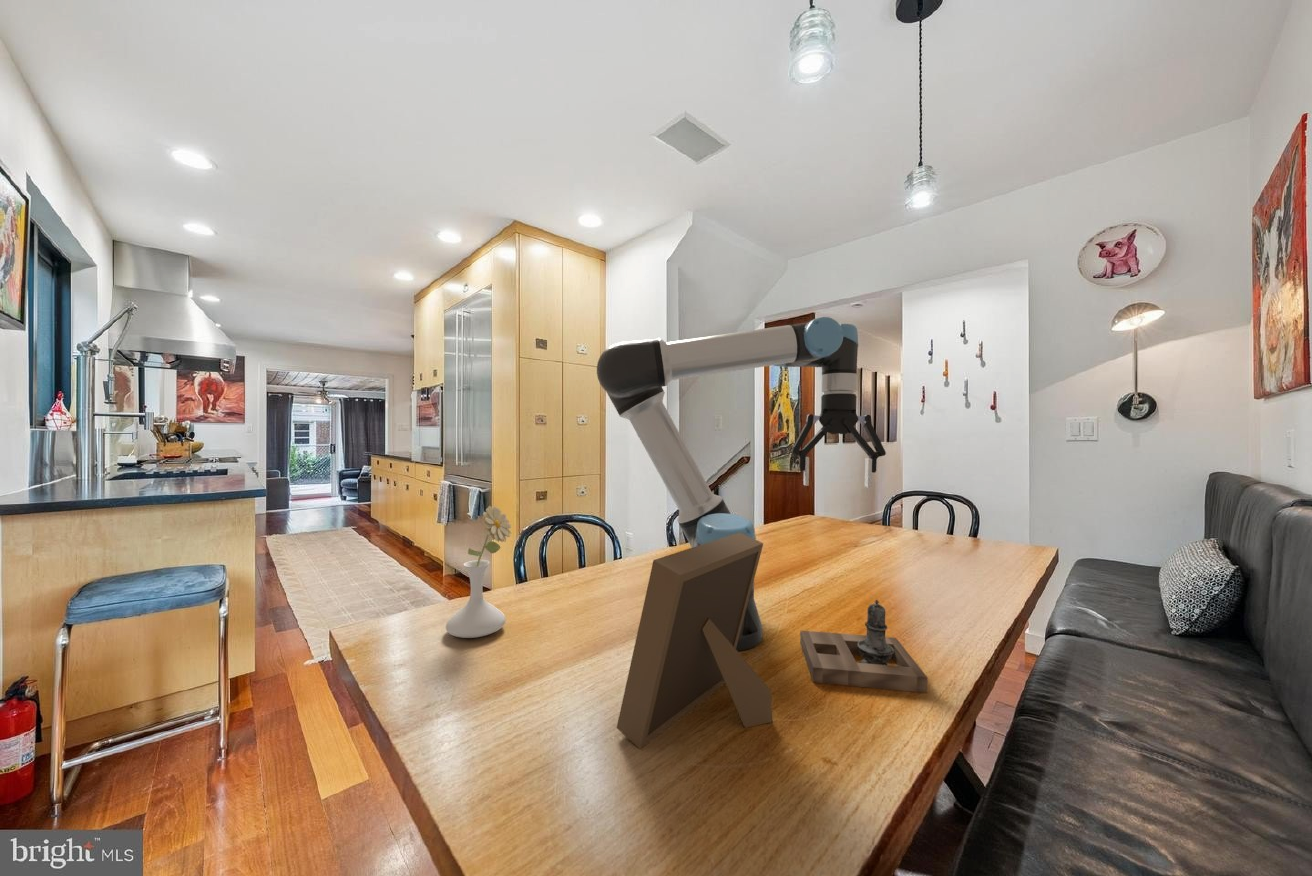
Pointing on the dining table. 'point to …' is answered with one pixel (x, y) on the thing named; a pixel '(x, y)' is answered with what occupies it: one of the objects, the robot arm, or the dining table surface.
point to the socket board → (838, 666)
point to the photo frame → (693, 639)
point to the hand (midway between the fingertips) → (836, 486)
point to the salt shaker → (875, 638)
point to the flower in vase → (477, 611)
